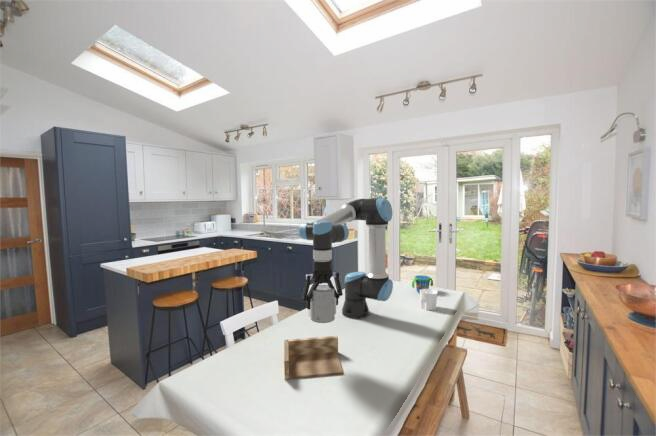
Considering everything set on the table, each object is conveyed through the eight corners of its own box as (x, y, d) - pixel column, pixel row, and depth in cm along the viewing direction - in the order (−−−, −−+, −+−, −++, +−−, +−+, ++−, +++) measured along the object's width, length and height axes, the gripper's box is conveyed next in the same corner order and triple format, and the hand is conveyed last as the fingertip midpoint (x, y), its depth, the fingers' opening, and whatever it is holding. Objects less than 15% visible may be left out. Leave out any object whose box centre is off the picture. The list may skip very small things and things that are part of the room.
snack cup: (428, 288, 218) (428, 274, 217) (437, 293, 207) (437, 278, 207) (408, 290, 214) (408, 275, 214) (415, 295, 204) (415, 280, 203)
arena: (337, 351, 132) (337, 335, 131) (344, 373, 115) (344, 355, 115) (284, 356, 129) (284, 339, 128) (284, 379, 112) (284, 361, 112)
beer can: (306, 318, 124) (305, 288, 124) (323, 312, 131) (323, 283, 130) (321, 325, 117) (321, 293, 117) (339, 318, 124) (339, 288, 123)
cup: (440, 308, 180) (441, 291, 179) (429, 312, 174) (430, 295, 173) (426, 303, 188) (426, 287, 187) (415, 307, 182) (415, 290, 182)
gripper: (343, 256, 131) (343, 308, 132) (292, 260, 122) (293, 315, 123) (351, 259, 124) (351, 314, 125) (298, 263, 115) (298, 322, 117)
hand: (322, 314), depth 124 cm, fingers closed on beer can, 9 cm apart
